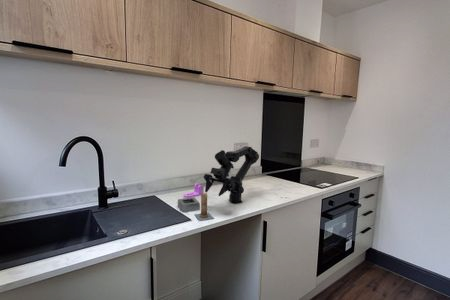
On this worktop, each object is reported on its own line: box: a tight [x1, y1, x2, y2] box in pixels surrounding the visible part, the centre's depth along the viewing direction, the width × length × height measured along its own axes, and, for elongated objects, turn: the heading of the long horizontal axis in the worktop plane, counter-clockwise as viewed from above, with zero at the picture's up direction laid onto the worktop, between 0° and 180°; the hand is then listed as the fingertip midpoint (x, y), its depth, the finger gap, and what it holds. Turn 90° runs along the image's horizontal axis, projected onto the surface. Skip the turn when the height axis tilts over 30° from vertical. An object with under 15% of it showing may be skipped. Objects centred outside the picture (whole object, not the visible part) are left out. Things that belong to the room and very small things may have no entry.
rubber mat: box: [194, 211, 215, 222], centre depth 127 cm, size 8×8×1 cm
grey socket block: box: [177, 197, 201, 213], centre depth 138 cm, size 10×10×4 cm
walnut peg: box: [199, 192, 209, 218], centre depth 126 cm, size 5×5×12 cm
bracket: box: [183, 182, 205, 199], centre depth 160 cm, size 13×6×7 cm, turn 128°
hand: (212, 193), depth 130 cm, fingers open, 9 cm apart
